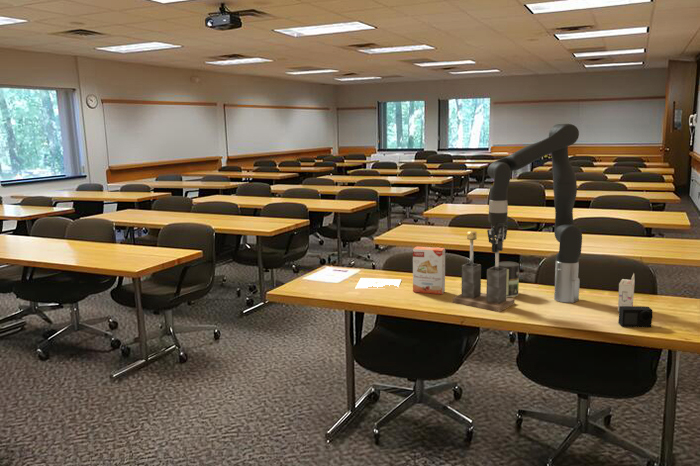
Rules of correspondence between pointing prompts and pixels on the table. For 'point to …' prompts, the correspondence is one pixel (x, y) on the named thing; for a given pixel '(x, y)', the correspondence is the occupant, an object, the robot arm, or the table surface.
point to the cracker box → (429, 270)
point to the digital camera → (635, 316)
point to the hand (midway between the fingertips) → (497, 251)
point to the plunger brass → (471, 244)
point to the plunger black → (497, 255)
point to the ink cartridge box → (626, 292)
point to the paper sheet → (377, 282)
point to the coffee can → (511, 277)
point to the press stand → (495, 288)
